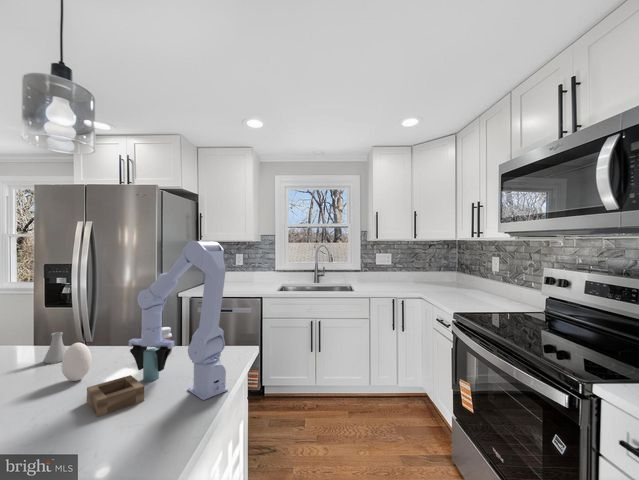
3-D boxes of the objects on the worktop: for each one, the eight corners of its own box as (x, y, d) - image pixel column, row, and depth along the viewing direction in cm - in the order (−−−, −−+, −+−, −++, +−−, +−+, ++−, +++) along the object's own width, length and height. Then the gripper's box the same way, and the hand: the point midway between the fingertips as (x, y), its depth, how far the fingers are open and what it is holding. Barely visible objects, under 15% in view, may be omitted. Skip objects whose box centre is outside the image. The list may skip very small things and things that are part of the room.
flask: (38, 362, 111) (38, 335, 111) (60, 356, 117) (60, 329, 118) (52, 365, 108) (52, 336, 109) (74, 358, 115) (74, 331, 116)
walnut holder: (144, 400, 84) (144, 386, 84) (97, 416, 76) (97, 400, 76) (130, 388, 91) (130, 375, 91) (86, 402, 83) (87, 387, 83)
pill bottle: (167, 356, 117) (167, 330, 118) (152, 356, 118) (152, 330, 118) (174, 351, 123) (174, 326, 123) (160, 351, 123) (160, 326, 123)
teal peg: (161, 378, 98) (161, 350, 99) (146, 383, 95) (146, 353, 95) (155, 374, 101) (155, 347, 101) (140, 379, 98) (141, 350, 98)
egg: (69, 376, 99) (69, 340, 99) (95, 374, 101) (96, 338, 101) (55, 386, 92) (56, 347, 92) (84, 384, 94) (85, 345, 94)
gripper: (180, 324, 102) (179, 365, 101) (139, 322, 103) (139, 363, 103) (167, 330, 95) (166, 374, 94) (123, 328, 96) (123, 372, 96)
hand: (151, 369), depth 98 cm, fingers open, 6 cm apart
